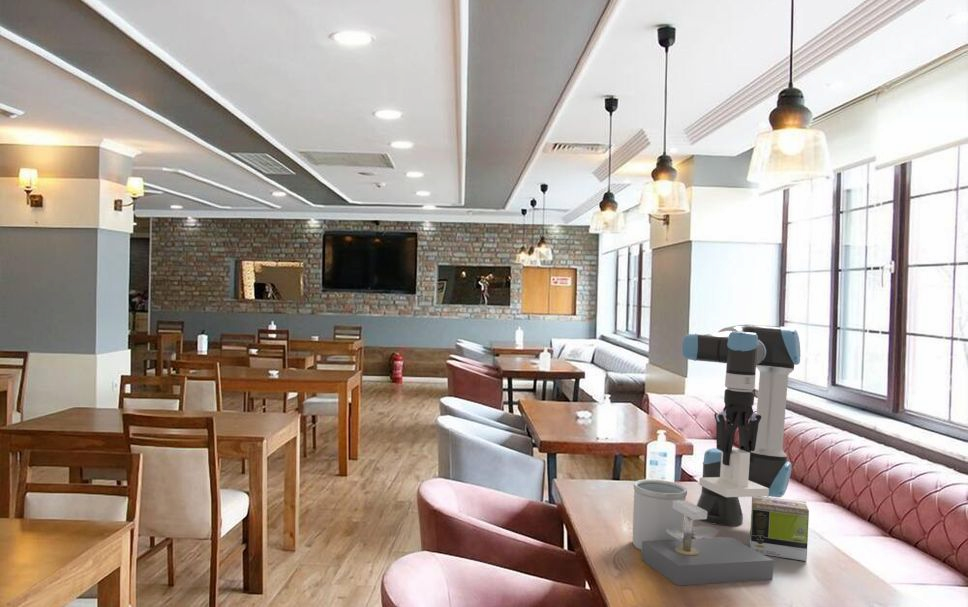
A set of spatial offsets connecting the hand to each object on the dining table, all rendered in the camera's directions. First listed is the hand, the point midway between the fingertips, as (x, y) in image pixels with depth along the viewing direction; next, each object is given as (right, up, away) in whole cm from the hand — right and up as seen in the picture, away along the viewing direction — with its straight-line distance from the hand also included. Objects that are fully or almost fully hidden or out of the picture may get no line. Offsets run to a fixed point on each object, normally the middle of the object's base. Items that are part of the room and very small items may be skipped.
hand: (733, 477), depth 197 cm
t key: (-14, -18, -2) cm, 23 cm away
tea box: (+18, -26, +16) cm, 35 cm away
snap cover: (0, -4, 0) cm, 4 cm away
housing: (-8, -24, -2) cm, 25 cm away
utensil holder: (-17, -23, +14) cm, 32 cm away
